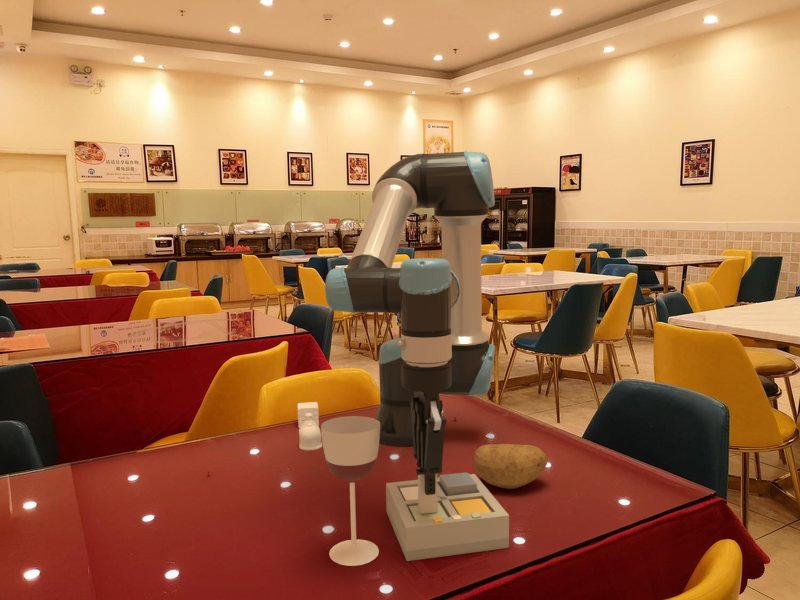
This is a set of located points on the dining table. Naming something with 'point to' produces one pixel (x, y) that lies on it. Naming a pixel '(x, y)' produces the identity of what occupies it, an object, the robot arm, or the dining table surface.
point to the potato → (509, 464)
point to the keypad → (447, 524)
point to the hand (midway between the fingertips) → (428, 510)
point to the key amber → (470, 507)
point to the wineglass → (351, 474)
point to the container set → (309, 426)
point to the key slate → (457, 484)
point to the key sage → (426, 516)
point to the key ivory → (409, 493)
